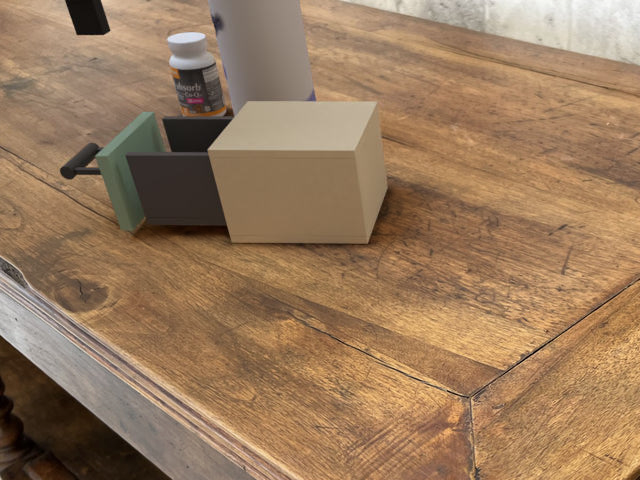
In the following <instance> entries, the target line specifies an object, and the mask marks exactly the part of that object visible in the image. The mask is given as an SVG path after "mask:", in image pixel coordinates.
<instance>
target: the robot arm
mask: <svg viewBox="0 0 640 480" xmlns="http://www.w3.org/2000/svg"><path fill="white" fill-rule="evenodd" d="M64 2H65V5H66V8H67V11H68V14H69V17H70V19H71V20H70V21H71V23H72V25H73V28H74V31H75V34H76V36H105V35H107V34H108V33H110V32H111V31H112V29H111V27H110V25H109V21H108V18H107V14H106V11H105V9H104V5H103V3H102V0H64Z"/></svg>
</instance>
